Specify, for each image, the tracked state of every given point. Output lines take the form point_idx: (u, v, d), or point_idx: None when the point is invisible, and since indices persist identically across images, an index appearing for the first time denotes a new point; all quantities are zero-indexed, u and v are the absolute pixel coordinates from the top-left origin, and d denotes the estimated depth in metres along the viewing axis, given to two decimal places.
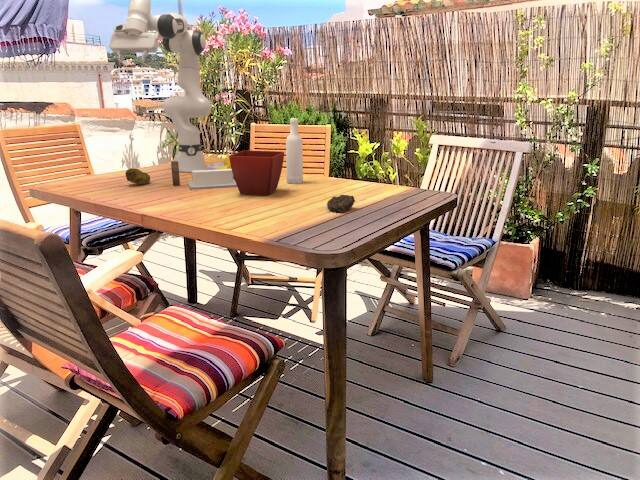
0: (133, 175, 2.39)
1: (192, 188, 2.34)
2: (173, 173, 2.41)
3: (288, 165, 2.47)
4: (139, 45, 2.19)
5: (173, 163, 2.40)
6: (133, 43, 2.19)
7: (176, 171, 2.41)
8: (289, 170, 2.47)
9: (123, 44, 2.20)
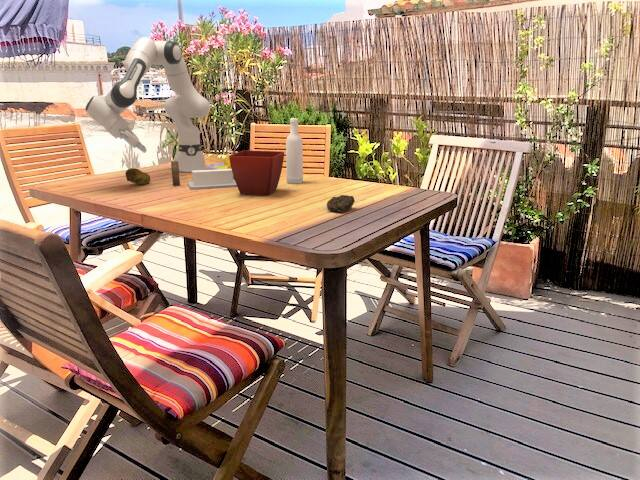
0: (133, 175, 2.39)
1: (192, 188, 2.34)
2: (173, 173, 2.41)
3: (288, 165, 2.47)
4: None
5: (173, 163, 2.40)
6: None
7: (176, 171, 2.41)
8: (289, 170, 2.47)
9: None
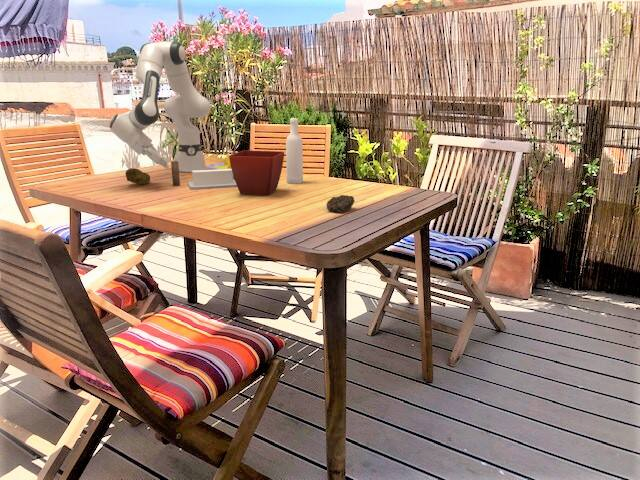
0: (133, 175, 2.39)
1: (192, 188, 2.34)
2: (173, 173, 2.41)
3: (288, 165, 2.47)
4: None
5: (173, 163, 2.40)
6: None
7: (176, 171, 2.41)
8: (289, 170, 2.47)
9: None
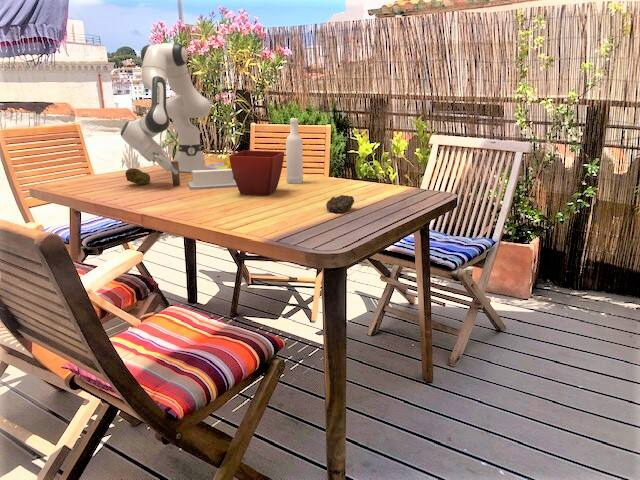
0: (133, 175, 2.39)
1: (192, 188, 2.34)
2: (173, 173, 2.41)
3: (288, 165, 2.47)
4: None
5: (173, 163, 2.40)
6: None
7: None
8: (289, 170, 2.47)
9: None
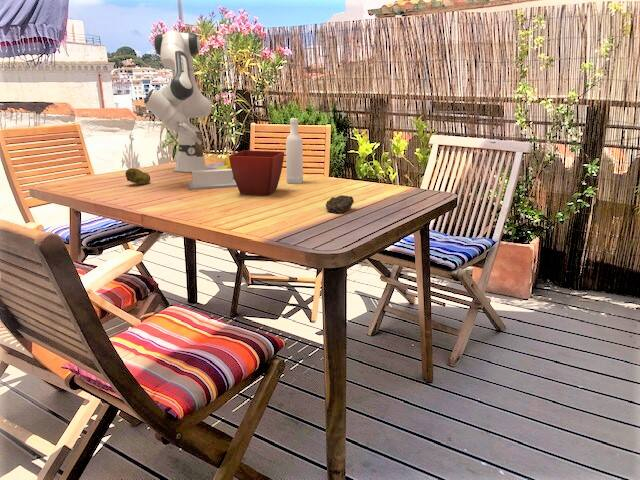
0: (133, 175, 2.39)
1: (192, 188, 2.34)
2: (196, 143, 2.37)
3: (288, 165, 2.47)
4: None
5: (197, 133, 2.36)
6: None
7: None
8: (289, 170, 2.47)
9: None
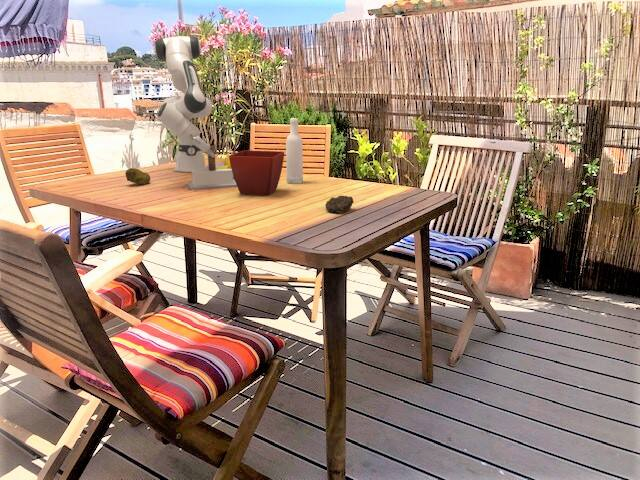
0: (133, 175, 2.39)
1: (192, 188, 2.34)
2: (209, 158, 2.39)
3: (288, 165, 2.47)
4: None
5: None
6: (199, 148, 2.37)
7: None
8: (289, 170, 2.47)
9: None
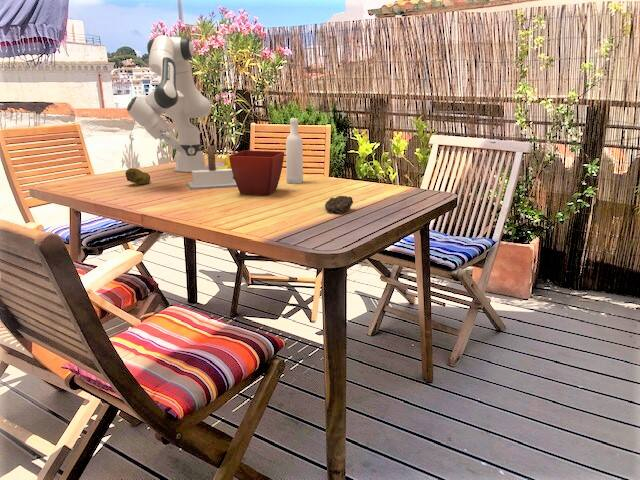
0: (133, 175, 2.39)
1: (192, 188, 2.34)
2: (209, 158, 2.39)
3: (288, 165, 2.47)
4: None
5: (209, 148, 2.38)
6: None
7: (213, 156, 2.39)
8: (289, 170, 2.47)
9: None
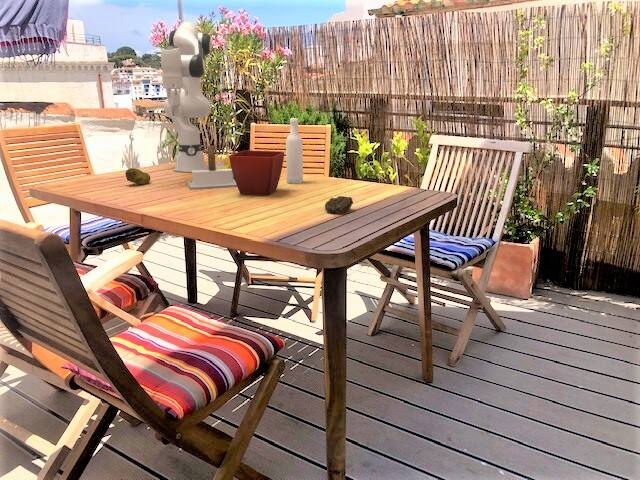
0: (133, 175, 2.39)
1: (192, 188, 2.34)
2: (209, 158, 2.39)
3: (288, 165, 2.47)
4: None
5: (209, 148, 2.38)
6: (170, 100, 2.35)
7: (213, 156, 2.39)
8: (289, 170, 2.47)
9: (169, 100, 2.39)
